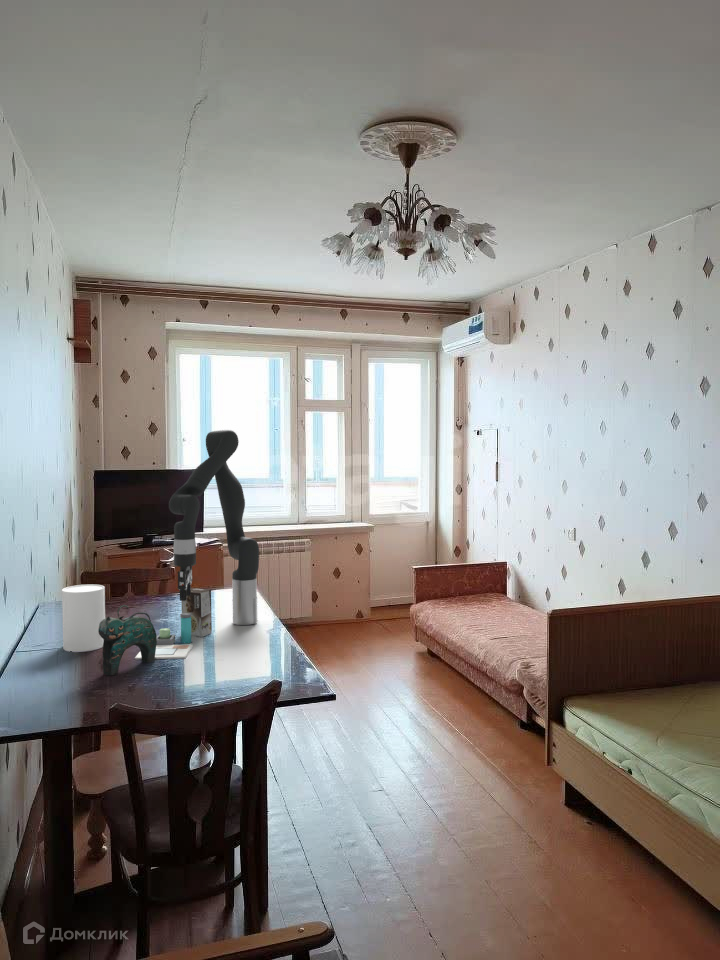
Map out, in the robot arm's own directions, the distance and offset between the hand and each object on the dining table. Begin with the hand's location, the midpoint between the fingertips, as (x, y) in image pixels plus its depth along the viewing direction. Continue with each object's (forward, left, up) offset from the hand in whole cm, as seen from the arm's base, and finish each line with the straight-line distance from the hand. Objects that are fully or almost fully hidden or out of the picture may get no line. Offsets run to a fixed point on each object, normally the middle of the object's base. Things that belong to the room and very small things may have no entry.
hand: (185, 597), depth 246 cm
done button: (+7, +2, -14) cm, 15 cm away
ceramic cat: (+13, +27, -16) cm, 34 cm away
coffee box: (-2, -11, -16) cm, 19 cm away
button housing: (+7, +2, -16) cm, 17 cm away
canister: (+34, +2, -16) cm, 37 cm away
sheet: (+5, +12, -16) cm, 20 cm away
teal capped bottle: (0, 0, -16) cm, 16 cm away
